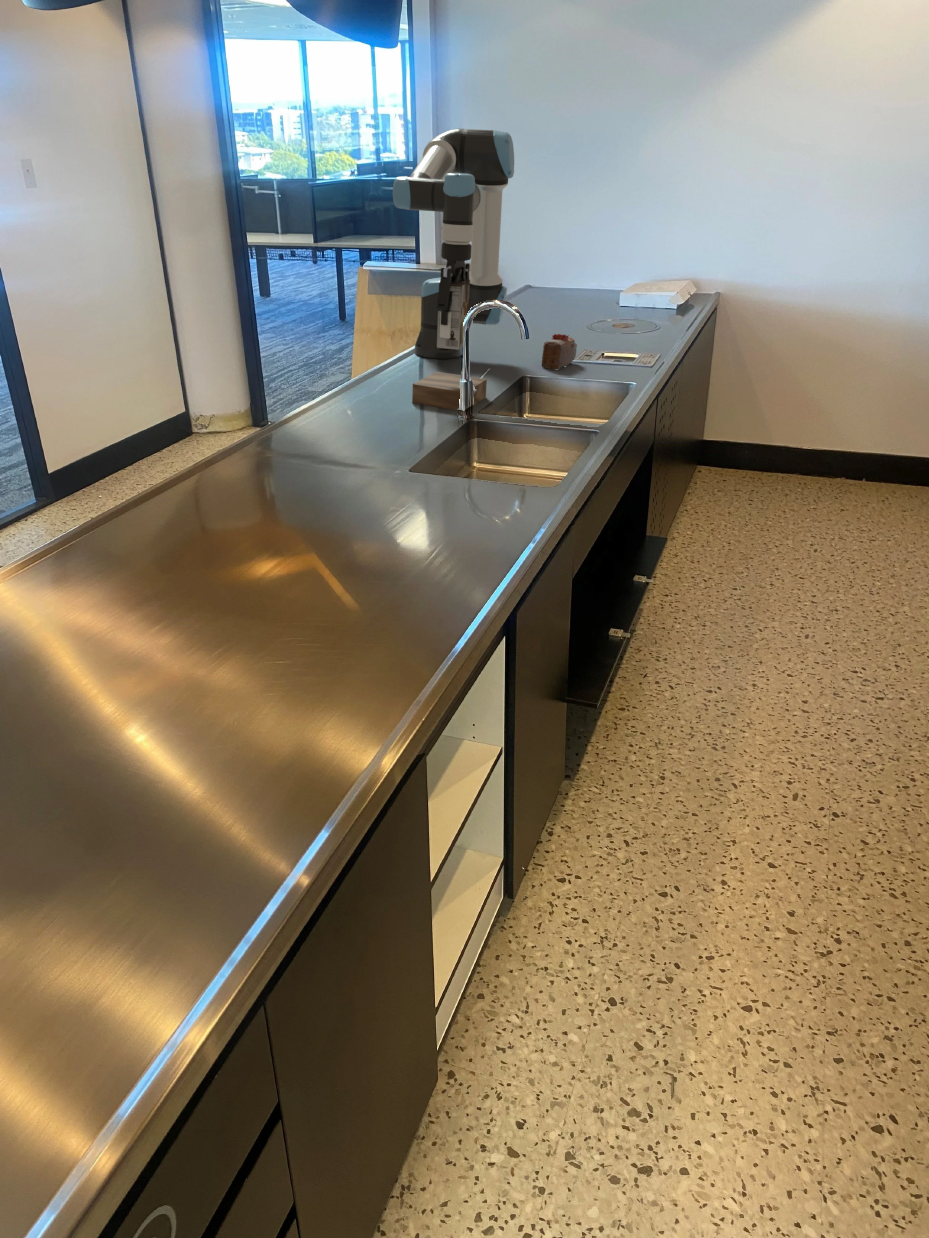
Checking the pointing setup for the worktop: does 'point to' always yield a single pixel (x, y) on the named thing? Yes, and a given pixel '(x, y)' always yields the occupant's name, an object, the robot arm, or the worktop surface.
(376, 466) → the worktop surface
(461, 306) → the coffee box
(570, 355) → the food item
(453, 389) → the walnut base
